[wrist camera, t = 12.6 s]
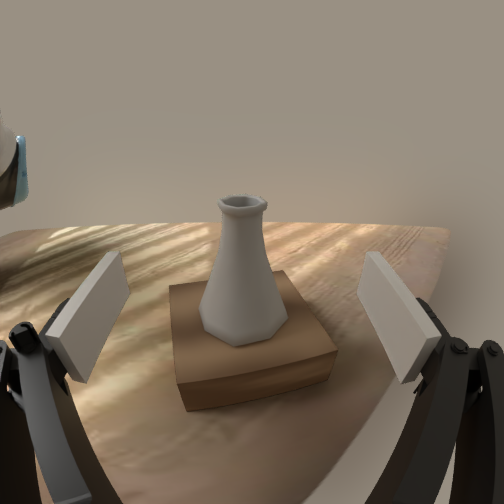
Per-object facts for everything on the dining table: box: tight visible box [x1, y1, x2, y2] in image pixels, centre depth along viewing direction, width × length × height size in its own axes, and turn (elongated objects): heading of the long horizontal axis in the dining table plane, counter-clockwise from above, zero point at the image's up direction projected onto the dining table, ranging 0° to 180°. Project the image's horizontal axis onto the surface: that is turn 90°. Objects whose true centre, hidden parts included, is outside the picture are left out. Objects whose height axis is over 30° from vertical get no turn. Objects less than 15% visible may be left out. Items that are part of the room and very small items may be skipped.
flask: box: [199, 194, 288, 347], centre depth 21 cm, size 7×7×10 cm
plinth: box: [169, 270, 338, 411], centre depth 24 cm, size 12×12×4 cm
